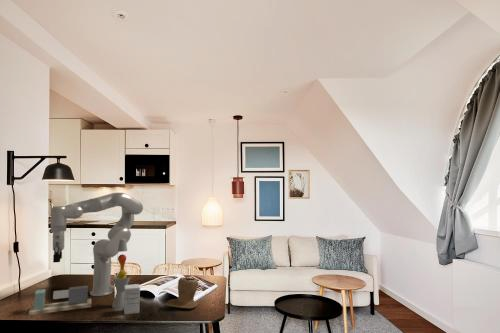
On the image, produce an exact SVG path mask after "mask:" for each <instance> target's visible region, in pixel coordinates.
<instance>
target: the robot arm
mask: <svg viewBox="0 0 500 333" xmlns="http://www.w3.org/2000/svg"><path fill="white" fill-rule="evenodd" d="M115 207H121V217H120V218H119V220H118V221H117V222H116V223H115V224H114V225H113V226H112V227H111V228H110V230H109V231H108V232H107V238H108V239H99V240H97V241H96V242H95V243H94V245H93V247H92V252H93V254H92V255H93V282H92V284H93V285H92V290H91V291H90V292H89V295H90V296H92V297H103V296H107V295H108V296H109V295H111V294H113V292H114V290H115V289H114V285H112V284H111V277H112V276H111V275H112V273H111V272H112V258H113V257H115V256H117V255H118V254H119V253H120V252H119V251H118V247H119V242H120V239H126V244H128V243H129V241H130V239H131V236H132V233H131V230H130V229H131V228H132V226H133V224H134V222H135V215H140V214H141V213H142V212H143V210H144V205H143V204H142V202H141V201H139V200H137V199H135V198H134V197H133V196H131V195H129V194H127V193H124V192H112V193H109V194H105V195H101V196H98V197H93V198H89V199H85V200H81V201H78V202H74V203H70V204H67V205H65V206H64V205H56V206H52V207H51V209H50V233H52V251H53V256H52V257H53V258H52V260H53V261H52V262H53V263H60V262H61V260H62V258H63V250H64V249H65V232H67V219H74V220H75V219H79V218H81V217H82V216H83V214H87V213H89V214H90V213H99V212H102V211H106V210H109V209H112V208H115Z"/></svg>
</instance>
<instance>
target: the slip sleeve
mask: <svg viewBox="0 0 500 333" xmlns="http://www.w3.org/2000/svg"><path fill="white" fill-rule="evenodd" d="M68 290H69V297H68V300H67V302H68V306H69V305H77V304H85V303H87V300H88V299H89V296H88V295H89V285H80V286H79V285H78V286H71V287H70V286H69V287H68Z"/></svg>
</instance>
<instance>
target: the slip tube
mask: <svg viewBox="0 0 500 333" xmlns="http://www.w3.org/2000/svg"><path fill="white" fill-rule="evenodd" d="M52 293H53V294H52V299H53V300H59V299H67V298H68V299H69V289H62V290H61V289H60V290H54V291H53V292H52Z"/></svg>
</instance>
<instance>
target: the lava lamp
mask: <svg viewBox="0 0 500 333" xmlns="http://www.w3.org/2000/svg"><path fill="white" fill-rule="evenodd" d="M127 244H128V243H126V239H120V242H119V247H118V251H119V253H120V252H127V251H128V246H127ZM126 260H127V256H126V255H125V254H123V253H122V254H119V255H118V257H117V261H118V263H119V265H120V267H119V271H118V275H114V276H112V280H113V283H114V284H113V285H115V287H116V289H115V291H116V293H115V295H114V298H113V302H112V305H111V307H112V308H113V309H124V287H125V285H129V281H130V279H131V275H128V274H127V271H126V270H125V265H126Z"/></svg>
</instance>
